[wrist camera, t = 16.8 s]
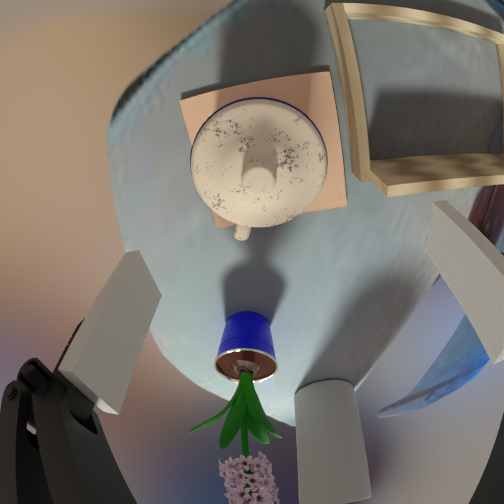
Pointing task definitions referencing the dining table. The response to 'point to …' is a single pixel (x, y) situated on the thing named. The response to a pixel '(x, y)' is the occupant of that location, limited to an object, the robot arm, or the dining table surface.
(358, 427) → the cylinder vase
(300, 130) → the teacup with lid
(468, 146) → the dining table surface
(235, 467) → the hyacinth
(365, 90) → the dining table surface
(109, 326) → the robot arm
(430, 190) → the frame
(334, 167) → the terracotta tile
